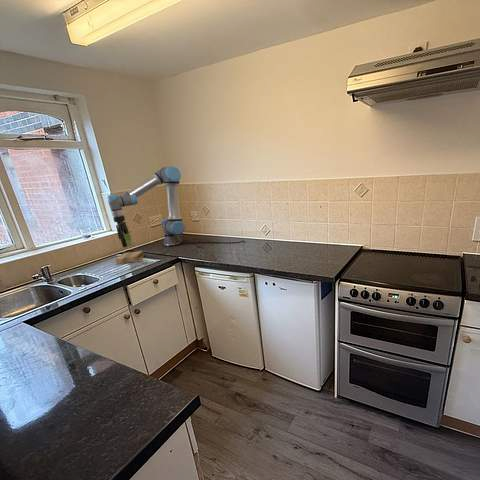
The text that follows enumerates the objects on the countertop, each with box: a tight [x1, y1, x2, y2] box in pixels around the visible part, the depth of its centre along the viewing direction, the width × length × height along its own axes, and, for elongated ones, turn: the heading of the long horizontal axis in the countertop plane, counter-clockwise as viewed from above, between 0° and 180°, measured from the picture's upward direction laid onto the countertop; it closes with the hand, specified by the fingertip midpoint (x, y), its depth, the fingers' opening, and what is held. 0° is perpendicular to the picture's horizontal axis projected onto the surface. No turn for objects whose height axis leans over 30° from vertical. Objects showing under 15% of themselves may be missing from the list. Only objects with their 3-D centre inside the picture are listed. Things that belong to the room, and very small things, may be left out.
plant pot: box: [117, 232, 132, 247], centre depth 227 cm, size 9×9×9 cm
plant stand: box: [115, 250, 146, 265], centre depth 232 cm, size 16×16×4 cm
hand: (127, 245), depth 228 cm, fingers closed on plant pot, 8 cm apart
